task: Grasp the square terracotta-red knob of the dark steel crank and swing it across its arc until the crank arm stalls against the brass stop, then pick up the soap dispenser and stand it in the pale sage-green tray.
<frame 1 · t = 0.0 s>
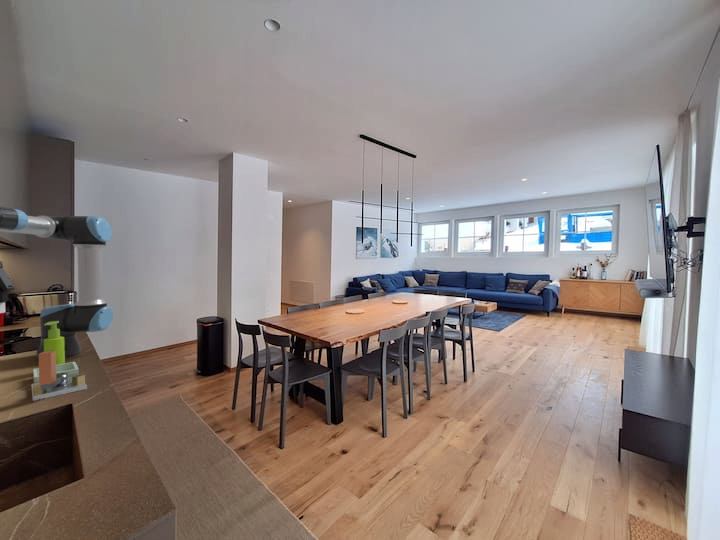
crank: (53, 368, 104), point 8 cm above the worktop, hinge at -25.0°
tray: (56, 378, 117), on the worktop
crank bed: (59, 388, 108), on the worktop
soap dispenser: (54, 371, 124), on the worktop
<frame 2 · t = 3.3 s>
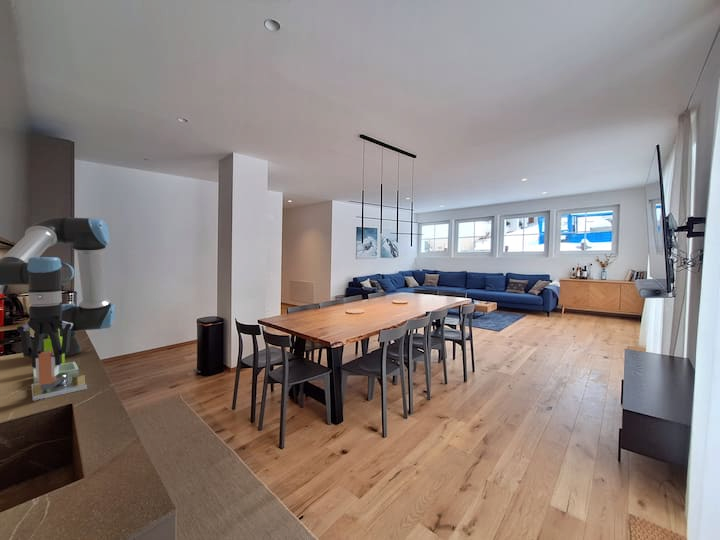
hand: (47, 375, 101), 7 cm above the worktop, fingers closed on crank, 3 cm apart
crank: (53, 368, 104), point 8 cm above the worktop, hinge at -25.1°, touching gripper
everything else where it was.
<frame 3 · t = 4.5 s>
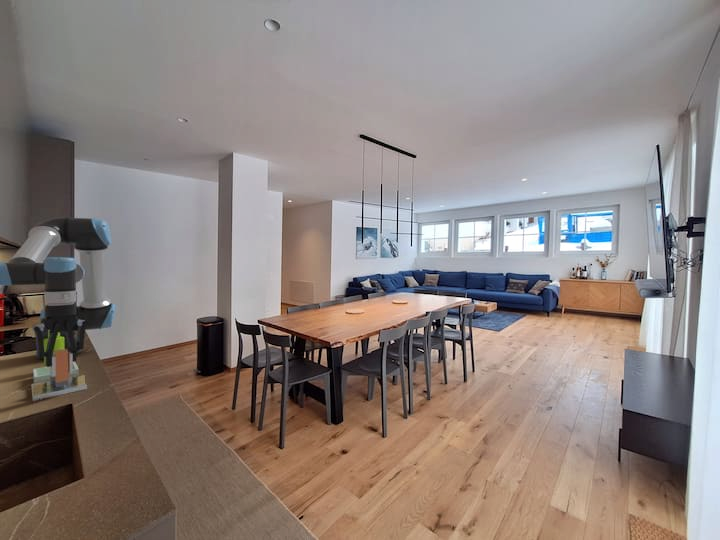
hand: (61, 373, 103), 7 cm above the worktop, fingers closed on crank, 3 cm apart
crank: (59, 367, 105), point 8 cm above the worktop, hinge at 2.2°, touching gripper
everything else where it was.
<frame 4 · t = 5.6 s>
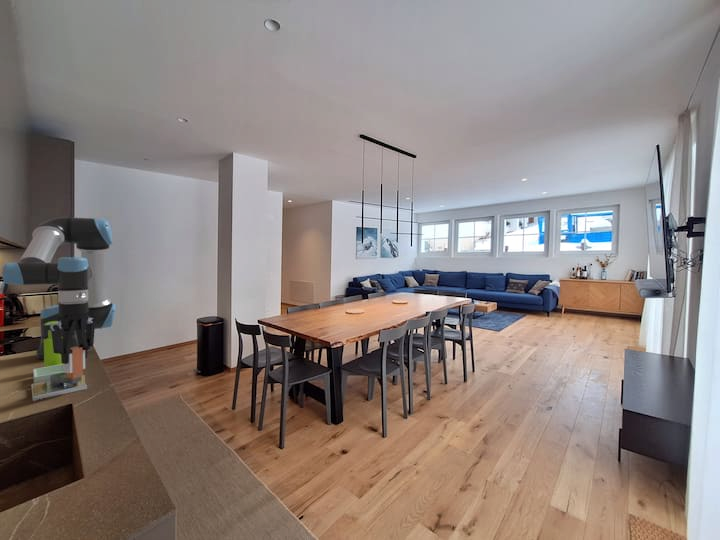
hand: (74, 370, 106), 7 cm above the worktop, fingers closed on crank, 3 cm apart
crank: (65, 365, 107), point 8 cm above the worktop, hinge at 30.0°, touching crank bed, gripper
everything else where it was.
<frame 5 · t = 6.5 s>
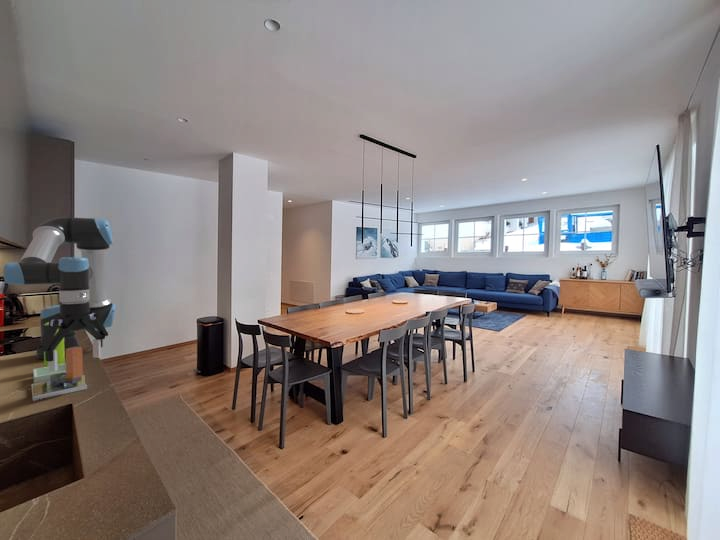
hand: (76, 363, 106), 9 cm above the worktop, fingers open, 13 cm apart
crank: (65, 365, 107), point 8 cm above the worktop, hinge at 30.0°, touching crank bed
everything else where it was.
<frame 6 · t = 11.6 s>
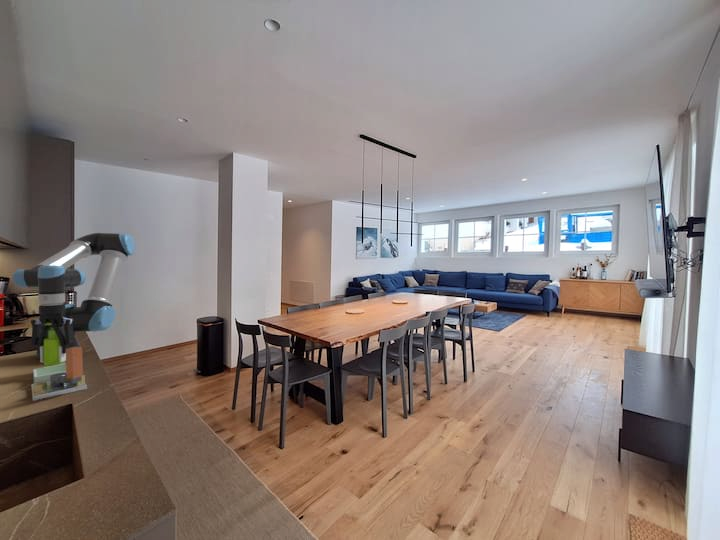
hand: (53, 361, 124), 4 cm above the worktop, fingers closed on soap dispenser, 6 cm apart
soap dispenser: (54, 371, 124), on the worktop, touching gripper
everything else where it was.
when the fingers open (6 cm above the worktop, at t = 16.5 s): soap dispenser drops 2 cm, resting on tray.
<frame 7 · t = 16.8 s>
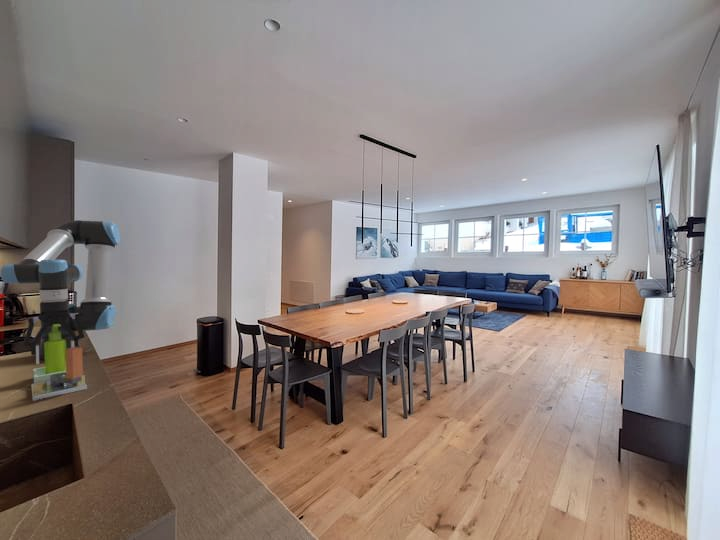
hand: (55, 360, 116), 7 cm above the worktop, fingers open, 9 cm apart
soap dispenser: (57, 376, 117), point 1 cm above the worktop, touching tray
everything else where it was.
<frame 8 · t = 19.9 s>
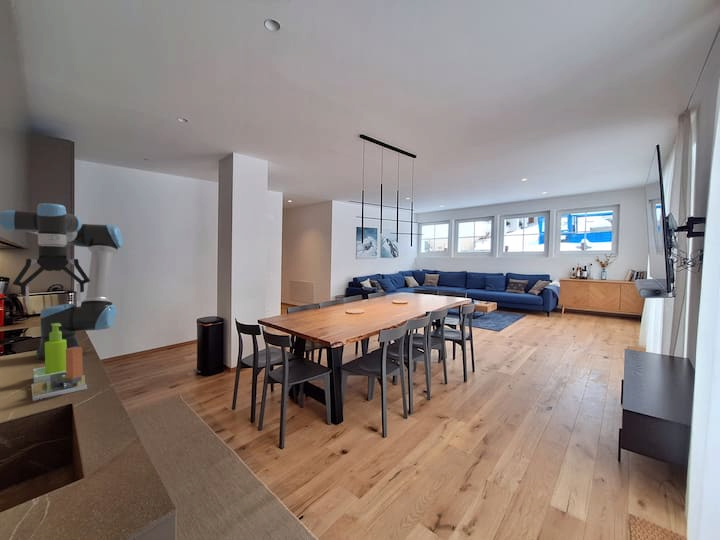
hand: (54, 302, 116), 29 cm above the worktop, fingers open, 13 cm apart
nothing on the worktop moved.
at the end: crank at +30° (first picture: -25°); soap dispenser inside the target area on the tray (0.2 cm from its centre), point 0.6 cm above the tray's base; soap dispenser tilted 0° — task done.
